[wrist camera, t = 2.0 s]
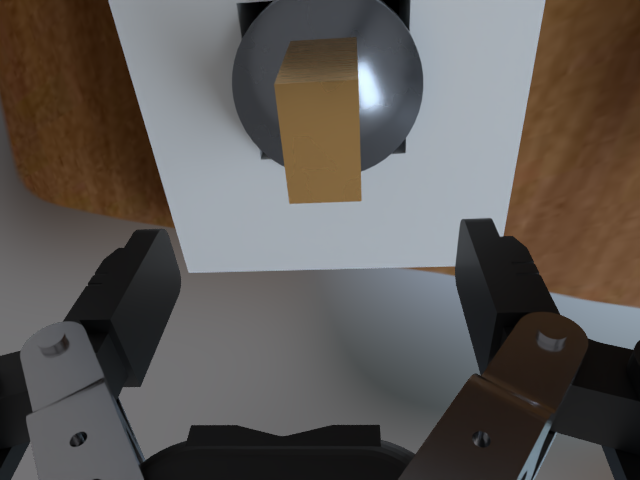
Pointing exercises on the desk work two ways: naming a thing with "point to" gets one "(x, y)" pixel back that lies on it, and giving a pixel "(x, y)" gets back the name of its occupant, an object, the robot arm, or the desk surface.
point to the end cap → (327, 91)
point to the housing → (376, 182)
